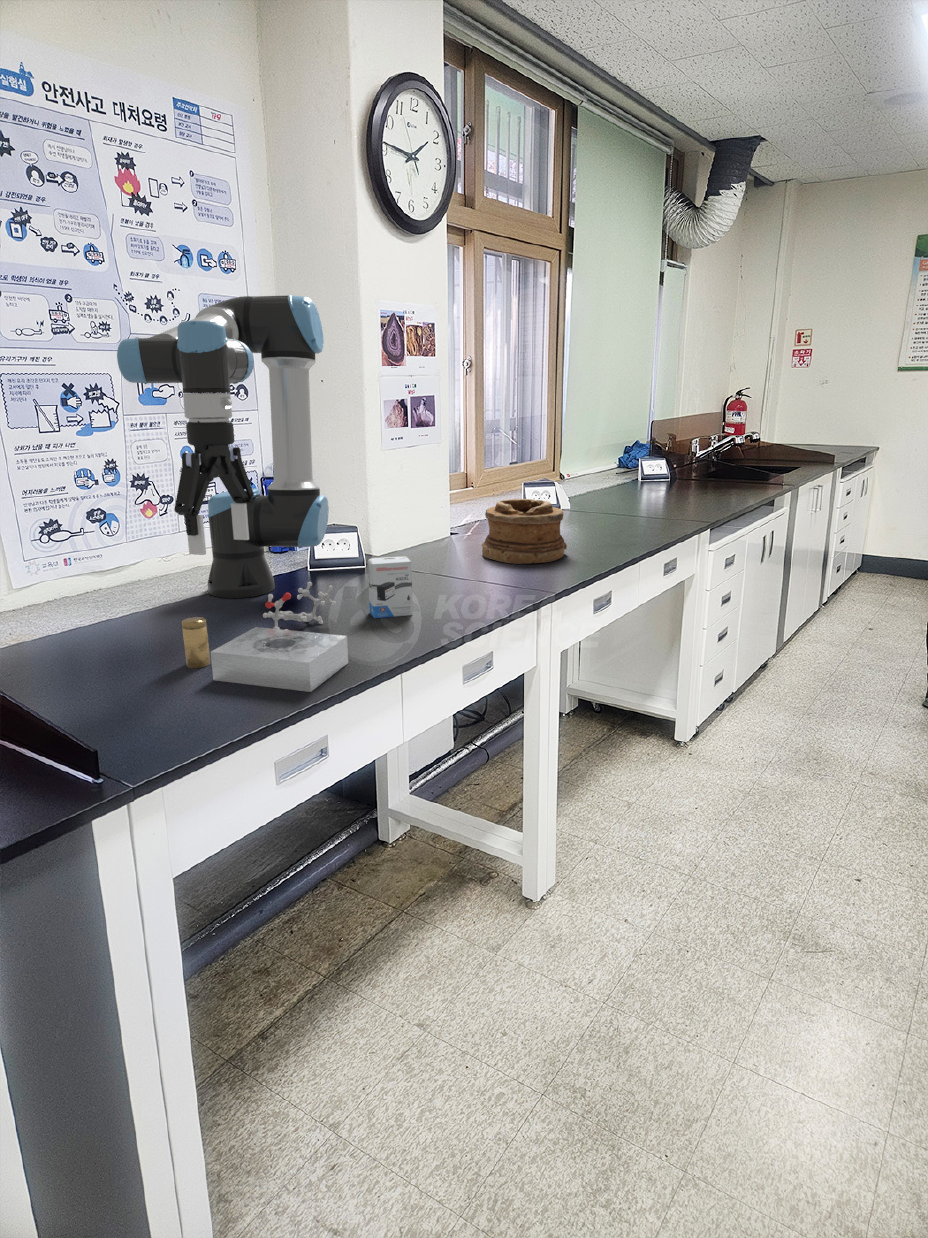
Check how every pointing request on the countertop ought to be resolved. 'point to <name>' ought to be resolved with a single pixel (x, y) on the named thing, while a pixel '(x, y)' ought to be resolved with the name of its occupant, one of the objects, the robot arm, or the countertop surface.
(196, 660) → the cylinder
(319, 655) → the plate
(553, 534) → the container
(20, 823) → the countertop surface
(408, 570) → the ink box
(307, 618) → the molecular model
